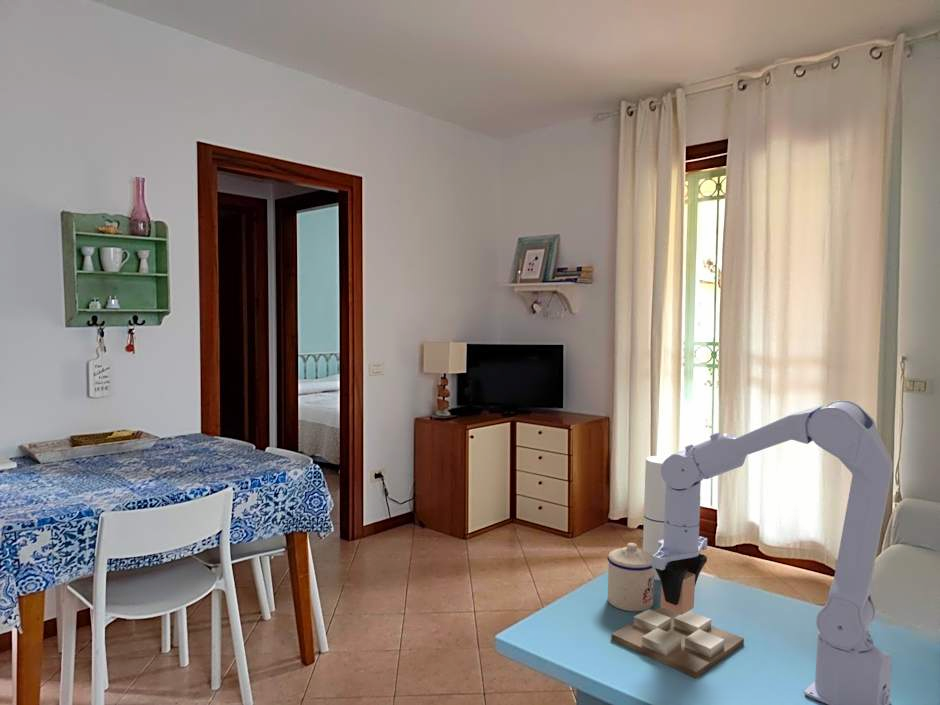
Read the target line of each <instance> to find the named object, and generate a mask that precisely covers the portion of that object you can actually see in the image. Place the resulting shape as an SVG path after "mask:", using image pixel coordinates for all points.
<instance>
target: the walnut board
mask: <svg viewBox="0 0 940 705" xmlns="http://www.w3.org/2000/svg"><path fill="white" fill-rule="evenodd" d="M610 639H611V640H612V641H614V642H616V643H618V644H621V645H623V646H625V647H626V648H630V649H631V650H633V651H635V652H638V653H640V654H642V655H644V656H646V657H649V658H650V659H653V660H655V661H657V662H659V663H661V664H663V665H666V666H668V667H670V668H672V669H674V670H677V671H679V672H681V673H683V674H686V675H687V676H690V677H692V678H694V679H697V678H699V677H700V676H702V675H703V674H704V673H706V672H707V671H708V670H710V669H711V668H712V667H714V666H716V665H717V664H718V663H719V662H721V661H722V660H723V659H725V658H727V656H729V655H731V654H733V653H734V652H735V651H736V650H737V649H739V648H740V647H742V646H743V645H744V644H745V638H744V637H741V636H739V635H737V634H734V633H732V632H729V631H727V630H723V629H721V628H719V627H716V626H713V625H712V619H711V618H709V617H706V616H704V615H701V614H698V613H696V612H693V611H691V610H689V611H688V612H686V613H684V614H683V615H680V614H678V613H675V612H673V611H670V610H667V609H665V608H662V607H661V606H660V607H658V608H656V609H654V610H652V609H651V608H649V609H647V610H644V611H641V612H640V613H637V614H636V615H635V616H634V617H633V621H632V622H630V623H628V624H627V625H625V626H624V627H621V628H619V629H618V630H616V631H614V632H612V633H611V638H610Z"/></svg>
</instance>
